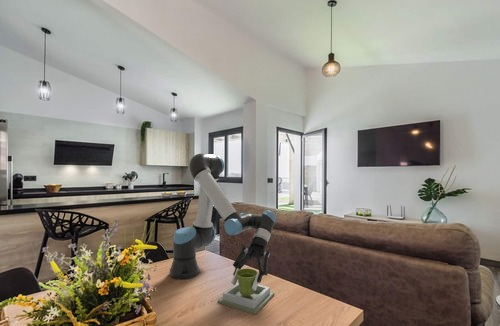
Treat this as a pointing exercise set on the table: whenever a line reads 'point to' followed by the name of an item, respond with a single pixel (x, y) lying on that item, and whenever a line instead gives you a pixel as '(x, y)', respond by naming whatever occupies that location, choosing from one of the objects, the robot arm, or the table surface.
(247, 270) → the plant pot
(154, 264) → the table surface
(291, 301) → the table surface
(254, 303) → the grey green square tray
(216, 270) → the table surface
